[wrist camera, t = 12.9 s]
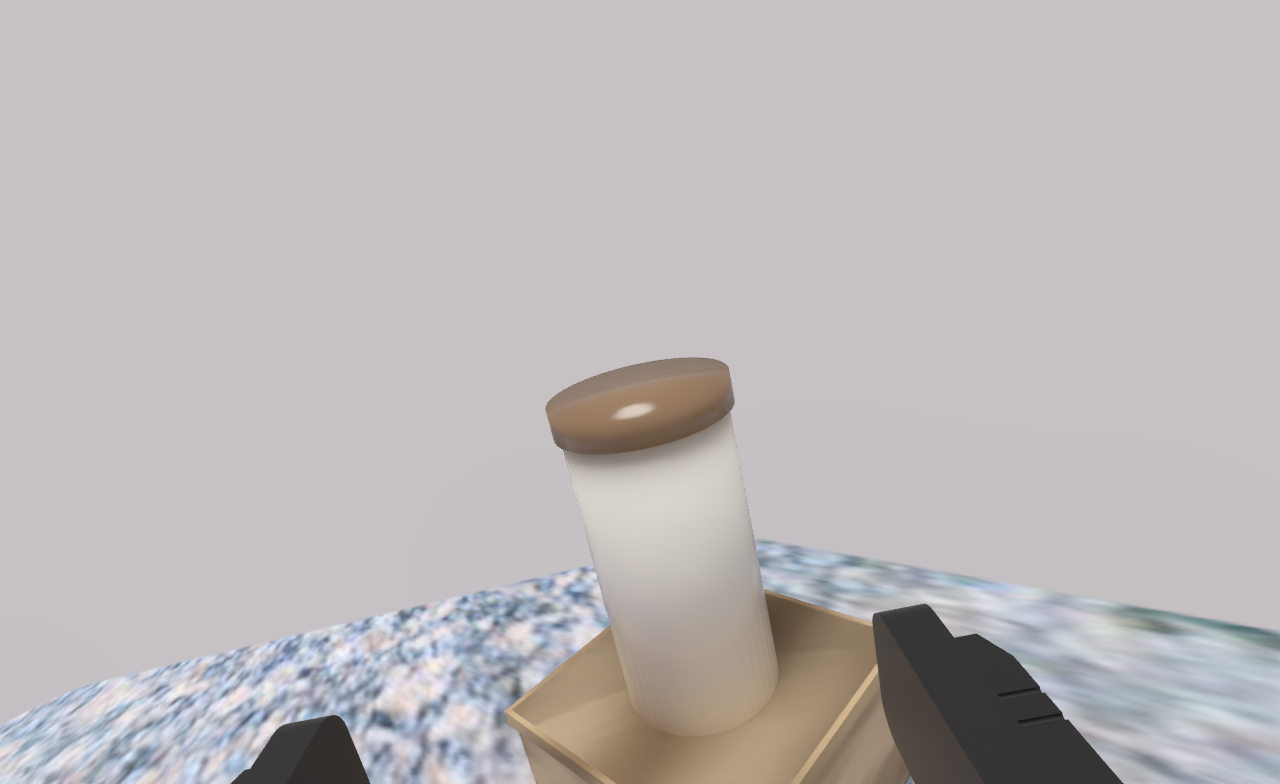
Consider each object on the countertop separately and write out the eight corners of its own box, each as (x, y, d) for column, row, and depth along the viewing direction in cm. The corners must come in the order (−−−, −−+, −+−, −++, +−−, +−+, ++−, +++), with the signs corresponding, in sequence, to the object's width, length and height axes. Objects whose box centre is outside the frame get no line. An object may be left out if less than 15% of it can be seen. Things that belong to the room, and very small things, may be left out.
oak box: (545, 835, 25) (504, 711, 23) (708, 669, 32) (684, 564, 30) (772, 1037, 18) (734, 876, 16) (921, 765, 24) (905, 633, 23)
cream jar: (590, 697, 23) (508, 413, 20) (691, 607, 27) (634, 357, 24) (718, 771, 19) (639, 429, 16) (815, 652, 23) (765, 358, 20)
